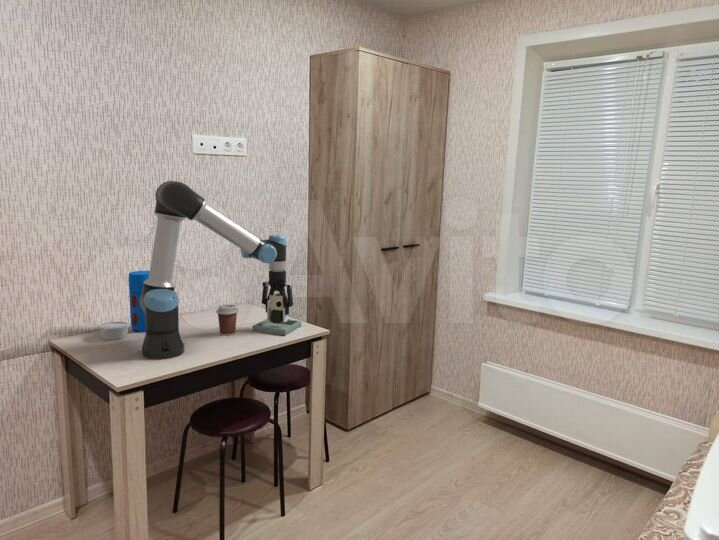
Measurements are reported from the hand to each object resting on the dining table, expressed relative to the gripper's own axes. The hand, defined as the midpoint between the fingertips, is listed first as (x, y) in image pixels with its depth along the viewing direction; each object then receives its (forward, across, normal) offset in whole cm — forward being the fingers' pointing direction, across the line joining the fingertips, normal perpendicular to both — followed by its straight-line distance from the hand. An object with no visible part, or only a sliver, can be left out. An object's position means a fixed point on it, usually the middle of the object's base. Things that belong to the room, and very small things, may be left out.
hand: (277, 320), depth 229 cm
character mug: (+1, 0, 0) cm, 1 cm away
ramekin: (+4, +55, +38) cm, 67 cm away
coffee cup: (+4, +16, +15) cm, 22 cm away
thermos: (+4, +52, +24) cm, 57 cm away
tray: (+4, 0, 0) cm, 4 cm away
